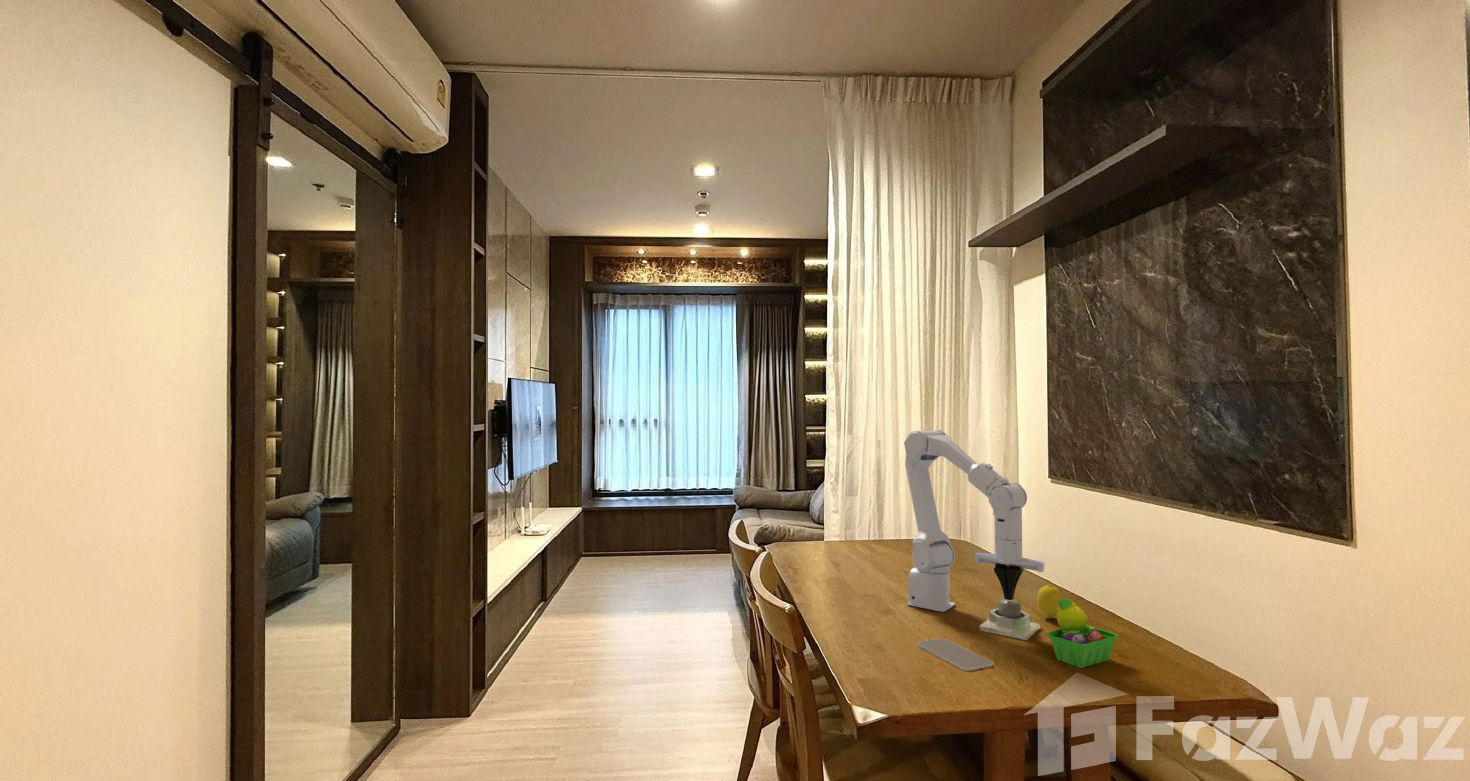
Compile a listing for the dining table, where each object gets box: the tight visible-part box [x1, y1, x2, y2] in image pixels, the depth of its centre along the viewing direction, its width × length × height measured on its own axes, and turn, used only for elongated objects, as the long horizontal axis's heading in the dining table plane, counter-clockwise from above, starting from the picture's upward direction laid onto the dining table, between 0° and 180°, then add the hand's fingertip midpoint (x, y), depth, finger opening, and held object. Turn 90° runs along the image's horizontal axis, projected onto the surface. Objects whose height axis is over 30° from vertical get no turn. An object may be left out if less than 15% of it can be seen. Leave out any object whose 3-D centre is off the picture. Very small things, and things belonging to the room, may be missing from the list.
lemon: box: [1036, 583, 1063, 619], centre depth 152 cm, size 6×6×8 cm
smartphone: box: [916, 638, 994, 672], centre depth 129 cm, size 7×1×15 cm
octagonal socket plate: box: [979, 607, 1041, 641], centre depth 144 cm, size 10×10×4 cm
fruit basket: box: [1047, 597, 1118, 669], centre depth 127 cm, size 11×9×11 cm
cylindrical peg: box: [998, 598, 1022, 618], centre depth 144 cm, size 5×5×5 cm
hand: (1009, 598), depth 145 cm, fingers closed
